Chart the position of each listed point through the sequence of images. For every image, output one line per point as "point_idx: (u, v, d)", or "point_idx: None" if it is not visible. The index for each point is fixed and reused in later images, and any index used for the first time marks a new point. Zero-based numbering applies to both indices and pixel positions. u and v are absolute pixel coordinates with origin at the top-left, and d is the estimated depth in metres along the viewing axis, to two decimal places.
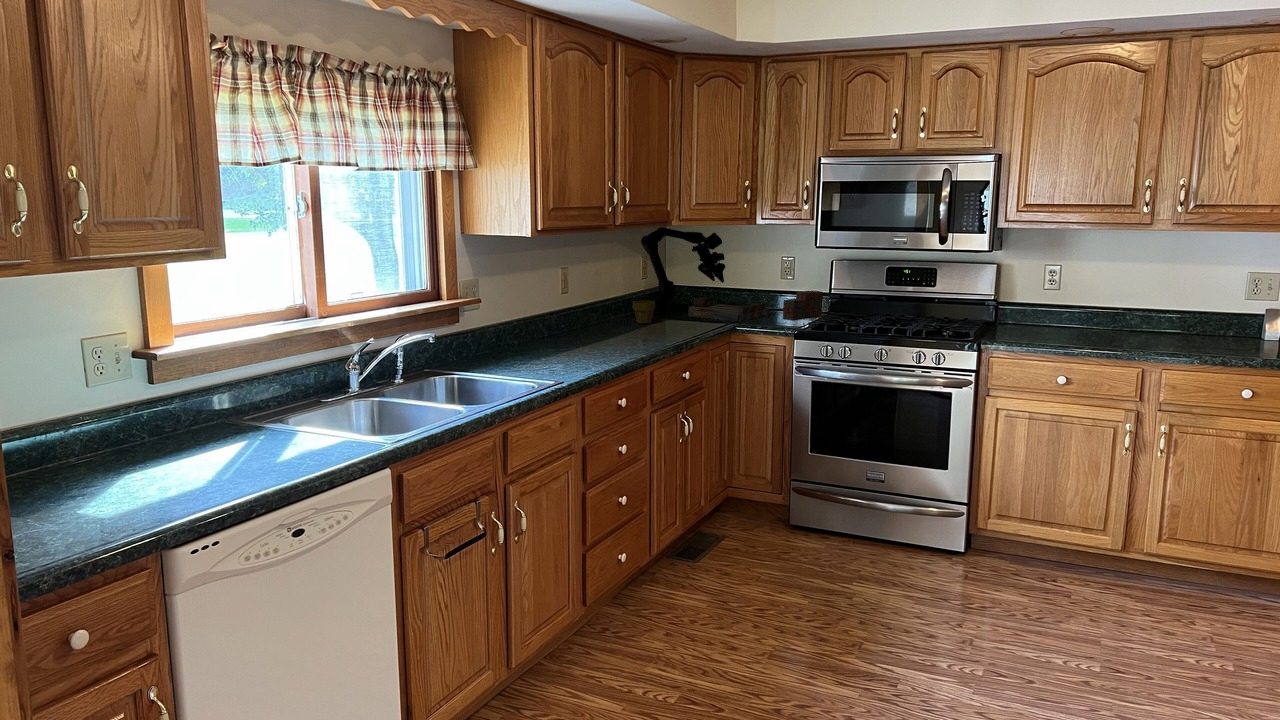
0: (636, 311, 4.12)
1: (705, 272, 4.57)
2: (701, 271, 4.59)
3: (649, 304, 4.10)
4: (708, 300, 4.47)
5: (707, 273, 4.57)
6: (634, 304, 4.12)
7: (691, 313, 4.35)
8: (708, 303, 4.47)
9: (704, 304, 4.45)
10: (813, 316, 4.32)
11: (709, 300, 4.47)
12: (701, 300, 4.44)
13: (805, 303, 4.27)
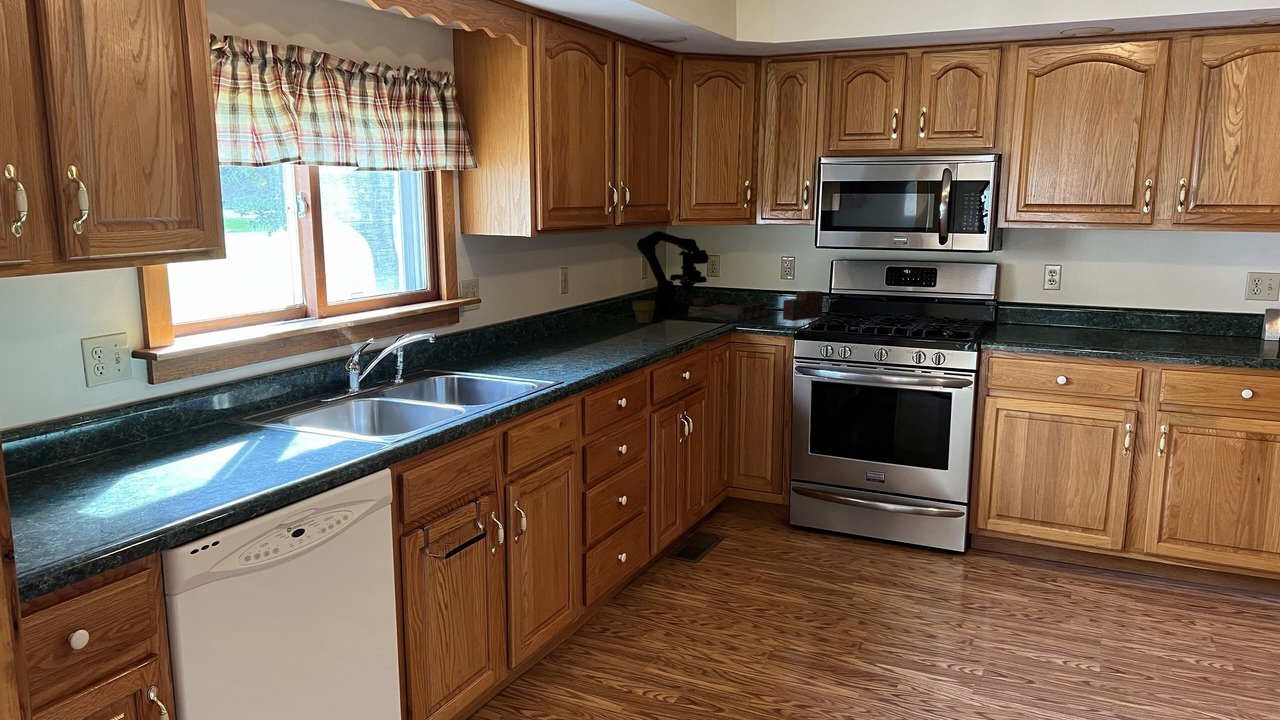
0: (636, 311, 4.12)
1: (684, 283, 4.50)
2: (680, 281, 4.51)
3: (649, 304, 4.10)
4: (708, 300, 4.47)
5: (685, 286, 4.51)
6: (634, 304, 4.12)
7: (691, 313, 4.35)
8: (708, 303, 4.47)
9: (704, 304, 4.45)
10: (813, 316, 4.32)
11: (709, 300, 4.47)
12: (701, 300, 4.44)
13: (805, 303, 4.27)
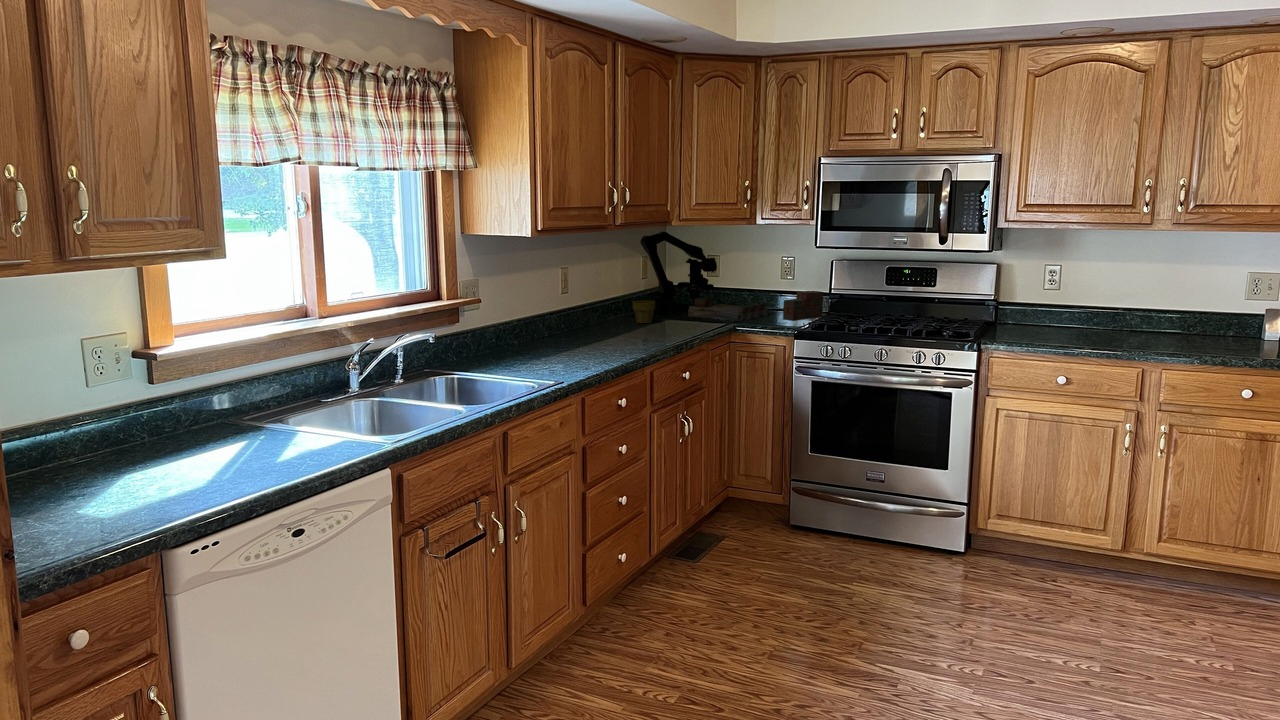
0: (636, 311, 4.12)
1: (691, 291, 4.48)
2: (687, 289, 4.49)
3: (649, 304, 4.10)
4: (709, 300, 4.46)
5: (693, 294, 4.49)
6: (634, 304, 4.12)
7: (691, 313, 4.35)
8: (709, 303, 4.47)
9: (705, 304, 4.44)
10: (813, 316, 4.31)
11: (710, 300, 4.47)
12: (702, 300, 4.44)
13: (805, 303, 4.26)
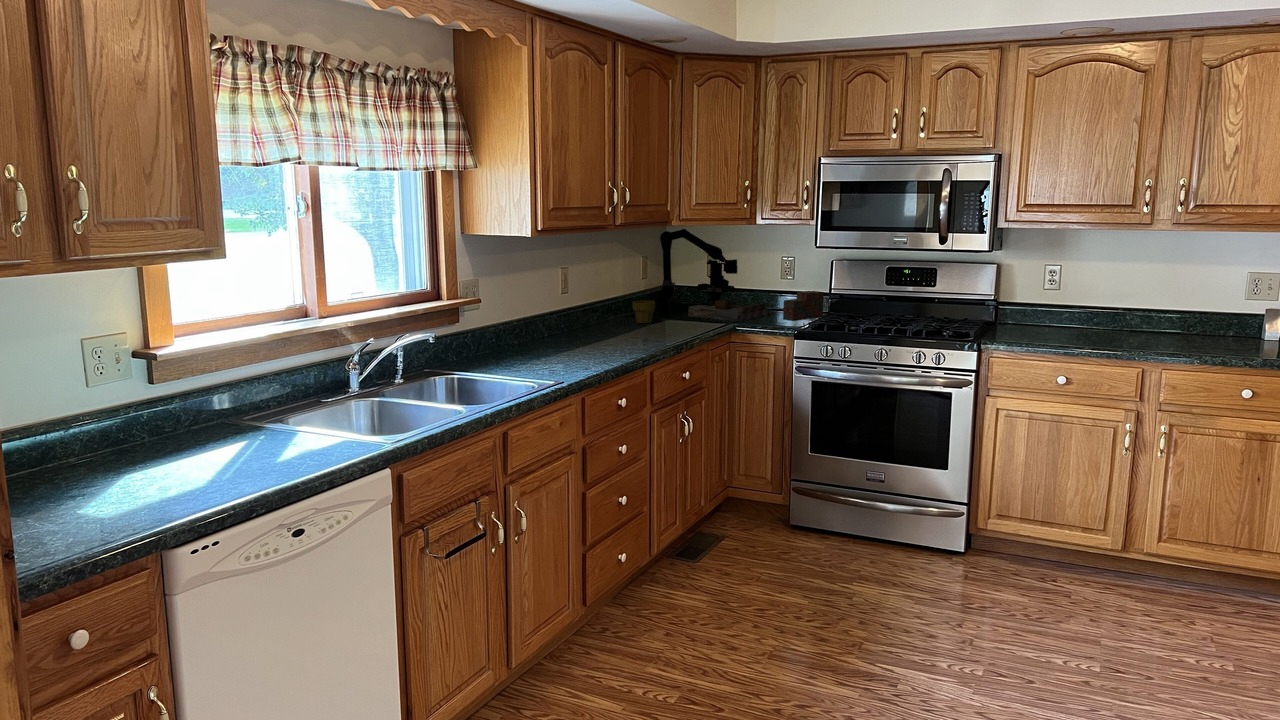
0: (636, 311, 4.12)
1: (712, 293, 4.41)
2: (707, 291, 4.42)
3: (649, 304, 4.10)
4: (730, 302, 4.39)
5: (713, 295, 4.42)
6: (634, 304, 4.12)
7: (691, 313, 4.35)
8: (730, 305, 4.39)
9: (726, 307, 4.36)
10: (814, 316, 4.31)
11: (731, 302, 4.39)
12: (723, 302, 4.36)
13: (805, 303, 4.26)
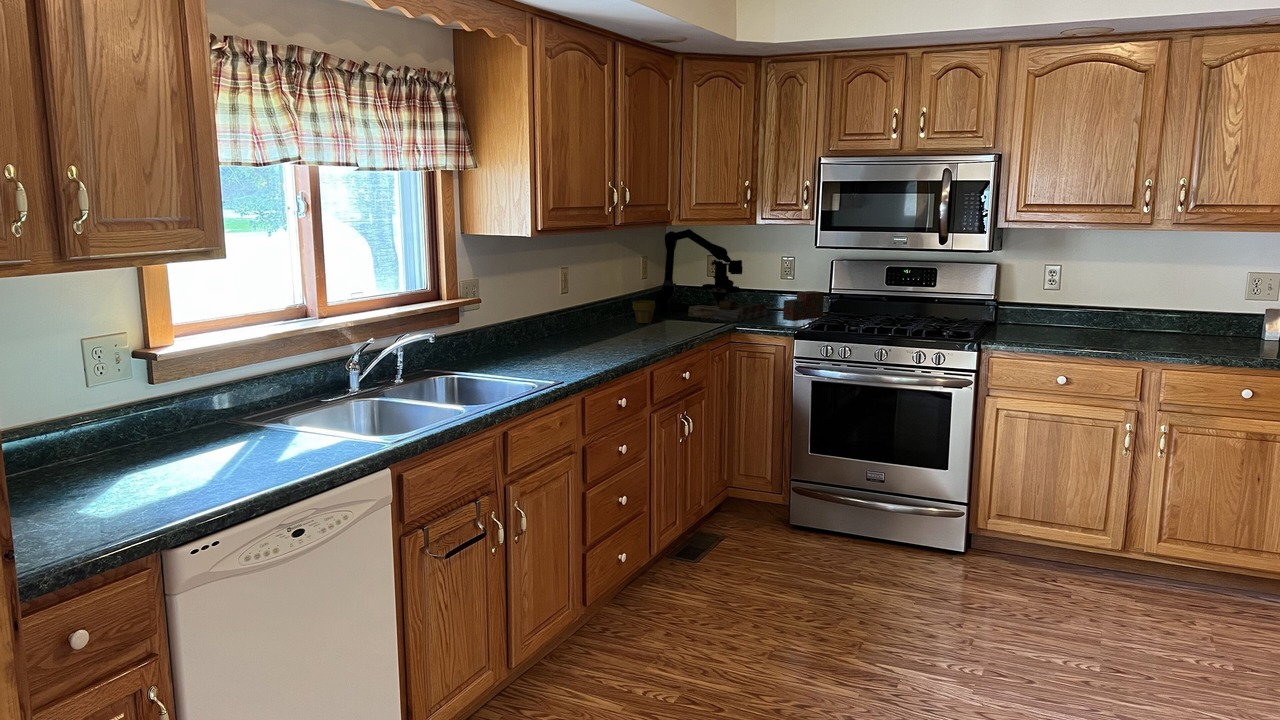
0: (636, 311, 4.12)
1: (717, 293, 4.39)
2: (712, 291, 4.40)
3: (649, 304, 4.10)
4: (734, 303, 4.37)
5: (718, 296, 4.40)
6: (634, 304, 4.12)
7: (691, 313, 4.35)
8: (734, 306, 4.37)
9: (730, 307, 4.35)
10: (814, 316, 4.31)
11: (735, 303, 4.38)
12: (727, 303, 4.35)
13: (805, 303, 4.26)
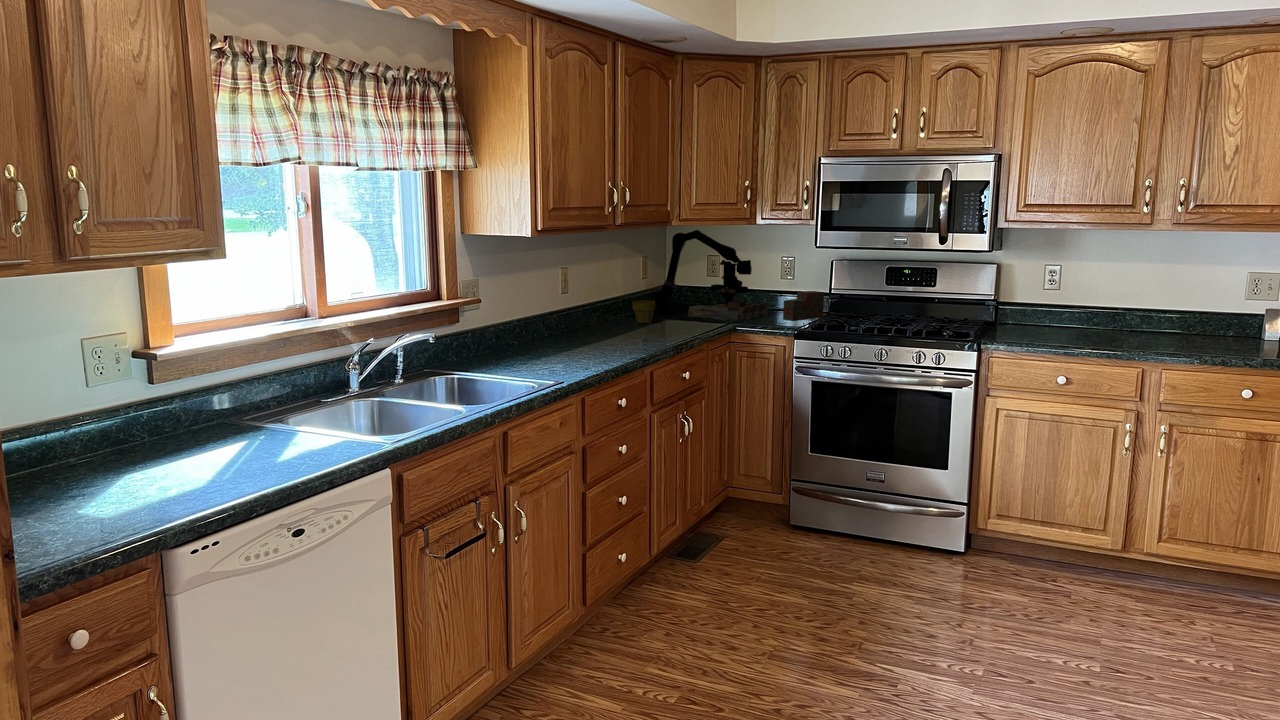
0: (636, 311, 4.12)
1: (725, 294, 4.36)
2: (720, 292, 4.37)
3: (649, 304, 4.10)
4: (743, 303, 4.34)
5: (726, 296, 4.37)
6: (634, 304, 4.12)
7: (691, 313, 4.35)
8: None
9: None
10: (814, 317, 4.30)
11: (744, 303, 4.35)
12: (736, 304, 4.31)
13: (805, 303, 4.25)
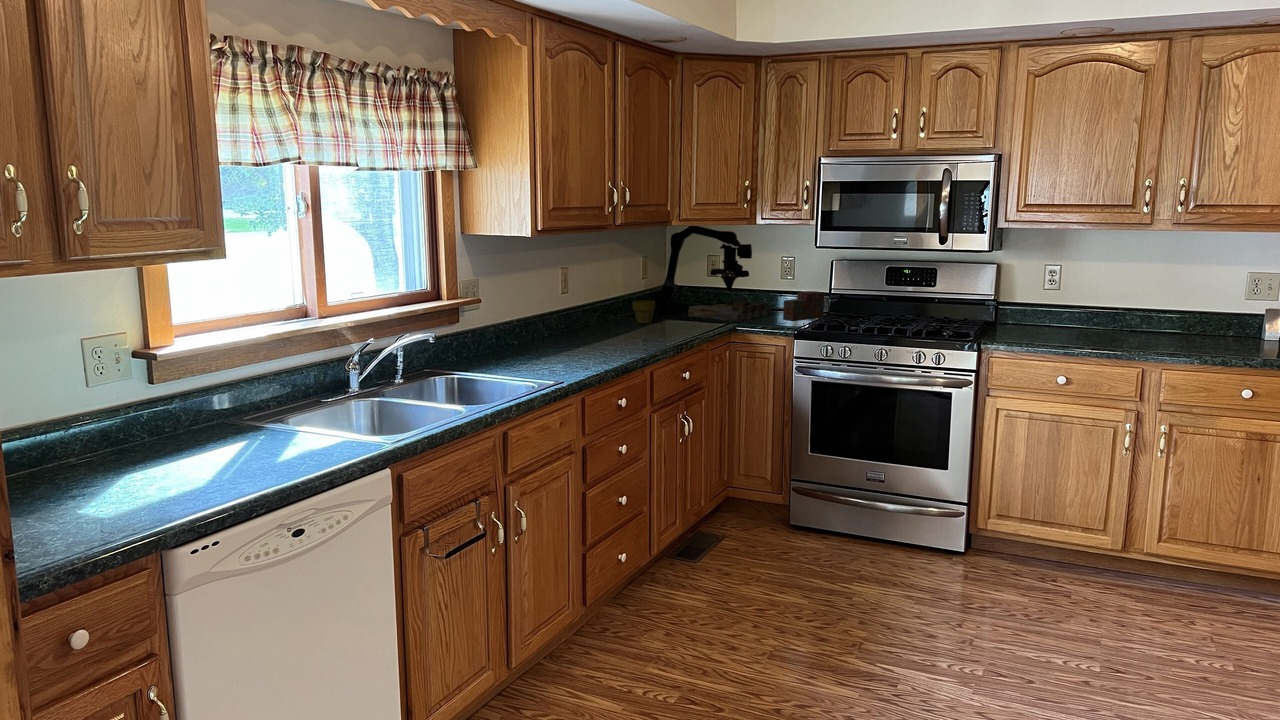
0: (636, 311, 4.12)
1: (726, 278, 4.34)
2: (721, 276, 4.35)
3: (649, 304, 4.10)
4: (748, 304, 4.32)
5: (727, 280, 4.35)
6: (634, 304, 4.12)
7: (691, 313, 4.35)
8: None
9: None
10: (814, 317, 4.30)
11: (749, 304, 4.33)
12: (741, 304, 4.30)
13: (806, 304, 4.25)
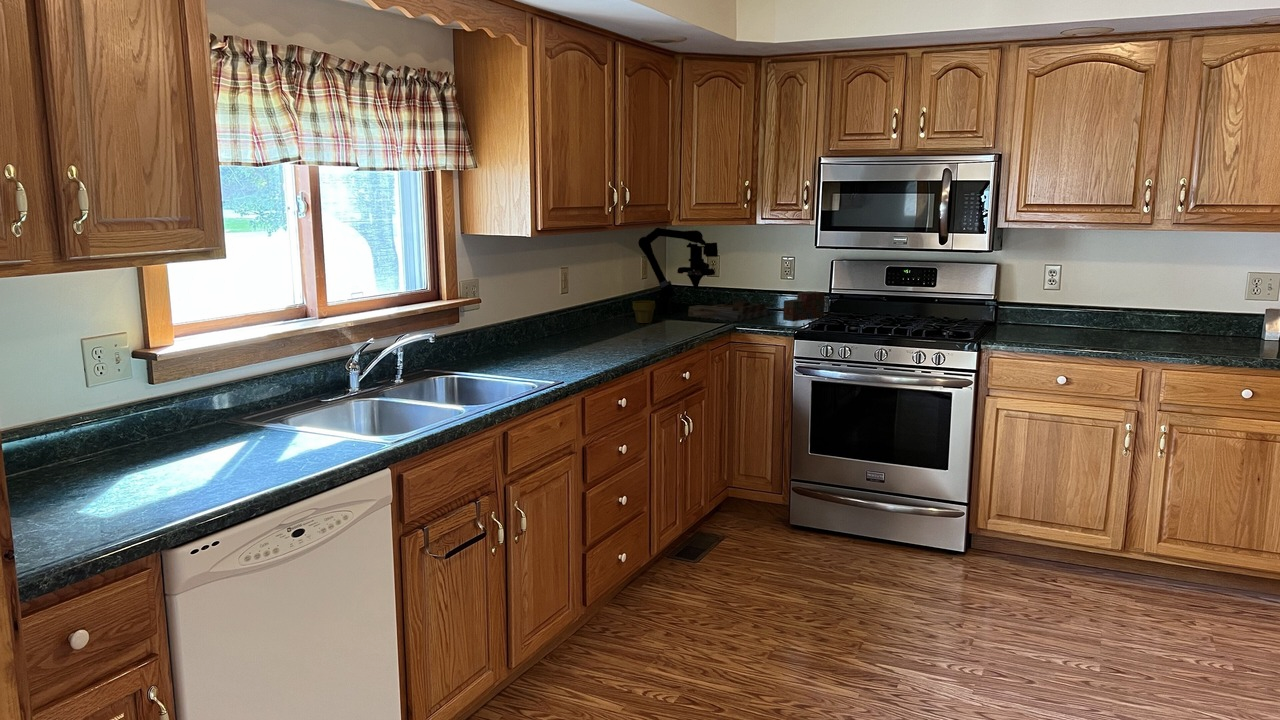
0: (636, 311, 4.12)
1: (692, 276, 4.42)
2: None
3: (649, 304, 4.10)
4: (748, 304, 4.32)
5: (693, 279, 4.43)
6: (634, 304, 4.12)
7: (691, 313, 4.35)
8: None
9: None
10: (814, 317, 4.29)
11: (749, 304, 4.33)
12: (741, 304, 4.30)
13: (806, 304, 4.24)
